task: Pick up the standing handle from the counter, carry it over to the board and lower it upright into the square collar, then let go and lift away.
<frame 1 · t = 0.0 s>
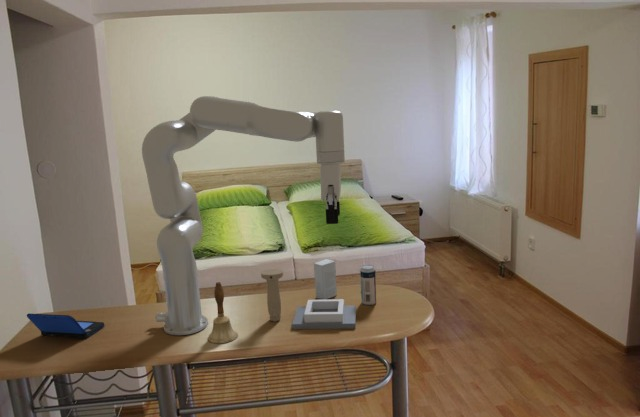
hand: (333, 219, 141), 31 cm above the table, tool pointing down, fingers open, 9 cm apart
beer can: (368, 303, 162), on the table
handle: (275, 320, 153), on the table
skincare box: (326, 297, 169), on the table
socket board: (325, 319, 151), on the table
hand bell: (223, 337, 143), on the table
handheld game console: (69, 335, 150), on the table
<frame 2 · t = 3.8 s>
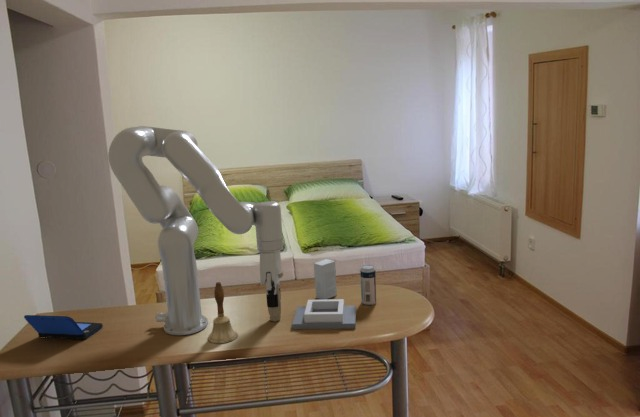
hand: (274, 303, 152), 5 cm above the table, tool pointing down, fingers closed on handle, 3 cm apart
handle: (275, 320, 153), on the table, touching gripper
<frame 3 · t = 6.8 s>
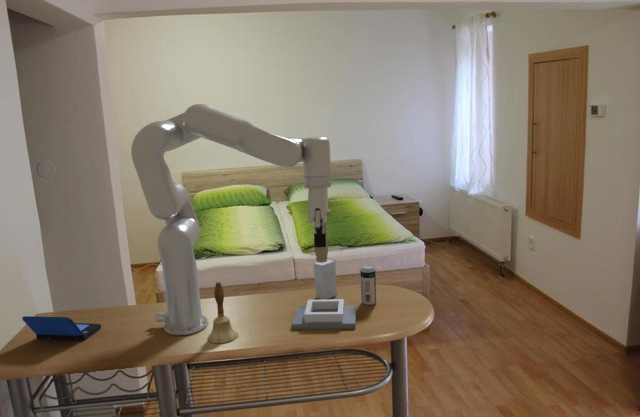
hand: (321, 243, 147), 23 cm above the table, tool pointing down, fingers closed on handle, 3 cm apart
handle: (321, 262, 148), point 18 cm above the table, touching gripper
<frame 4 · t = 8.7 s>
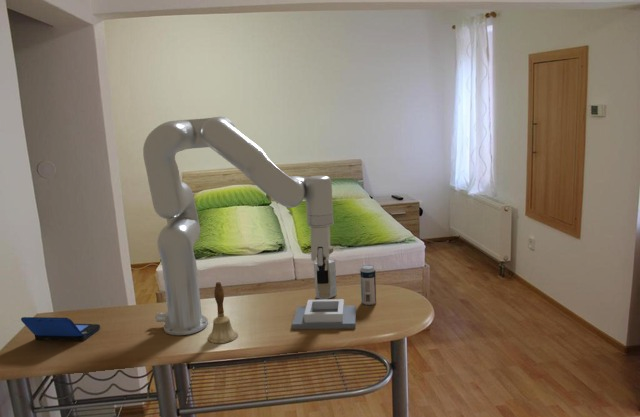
hand: (323, 279, 149), 12 cm above the table, tool pointing down, fingers closed on handle, 3 cm apart
handle: (324, 297, 150), point 7 cm above the table, touching gripper
when the fingers open (8 cm above the table, at t = 9.9 s): handle drops 1 cm, resting on socket board.
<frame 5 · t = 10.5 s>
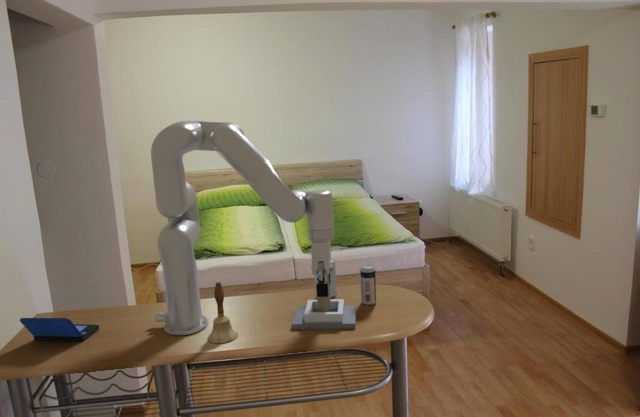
hand: (323, 290, 150), 9 cm above the table, tool pointing down, fingers open, 9 cm apart
handle: (324, 315, 151), point 1 cm above the table, touching socket board
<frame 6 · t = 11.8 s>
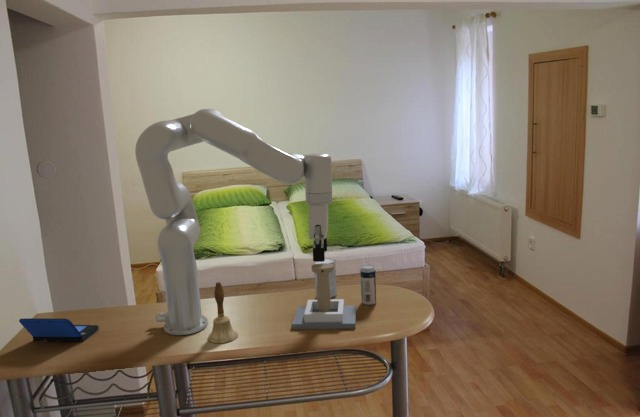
hand: (320, 256, 147), 20 cm above the table, tool pointing down, fingers open, 9 cm apart
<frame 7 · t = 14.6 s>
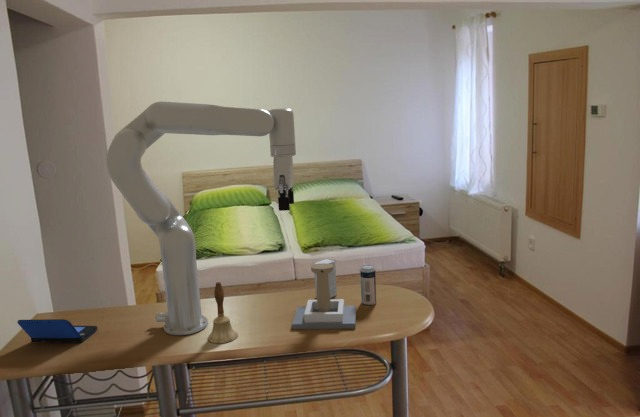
hand: (286, 206, 156), 32 cm above the table, tool pointing down, fingers open, 9 cm apart
at the end: handle 0.2 cm off-centre on the socket board, point 1.3 cm above the socket board's base; handle tilted 0°; the gripper is holding nothing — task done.
